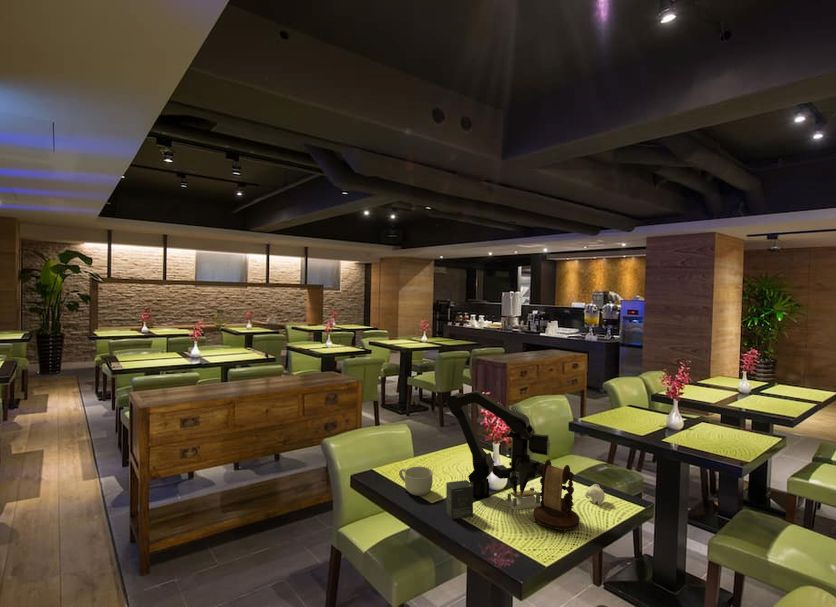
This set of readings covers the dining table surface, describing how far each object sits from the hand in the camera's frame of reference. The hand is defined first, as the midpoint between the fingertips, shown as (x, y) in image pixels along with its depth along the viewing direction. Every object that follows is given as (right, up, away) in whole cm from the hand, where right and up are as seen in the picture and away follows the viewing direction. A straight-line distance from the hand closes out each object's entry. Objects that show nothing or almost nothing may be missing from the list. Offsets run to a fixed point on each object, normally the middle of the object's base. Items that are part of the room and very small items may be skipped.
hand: (518, 493), depth 162 cm
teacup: (-37, -3, +10) cm, 39 cm away
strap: (+2, -1, +1) cm, 3 cm away
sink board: (+2, -4, +1) cm, 4 cm away
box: (-22, -4, -9) cm, 24 cm away
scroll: (+10, -4, -13) cm, 17 cm away
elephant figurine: (+29, -5, +2) cm, 29 cm away
